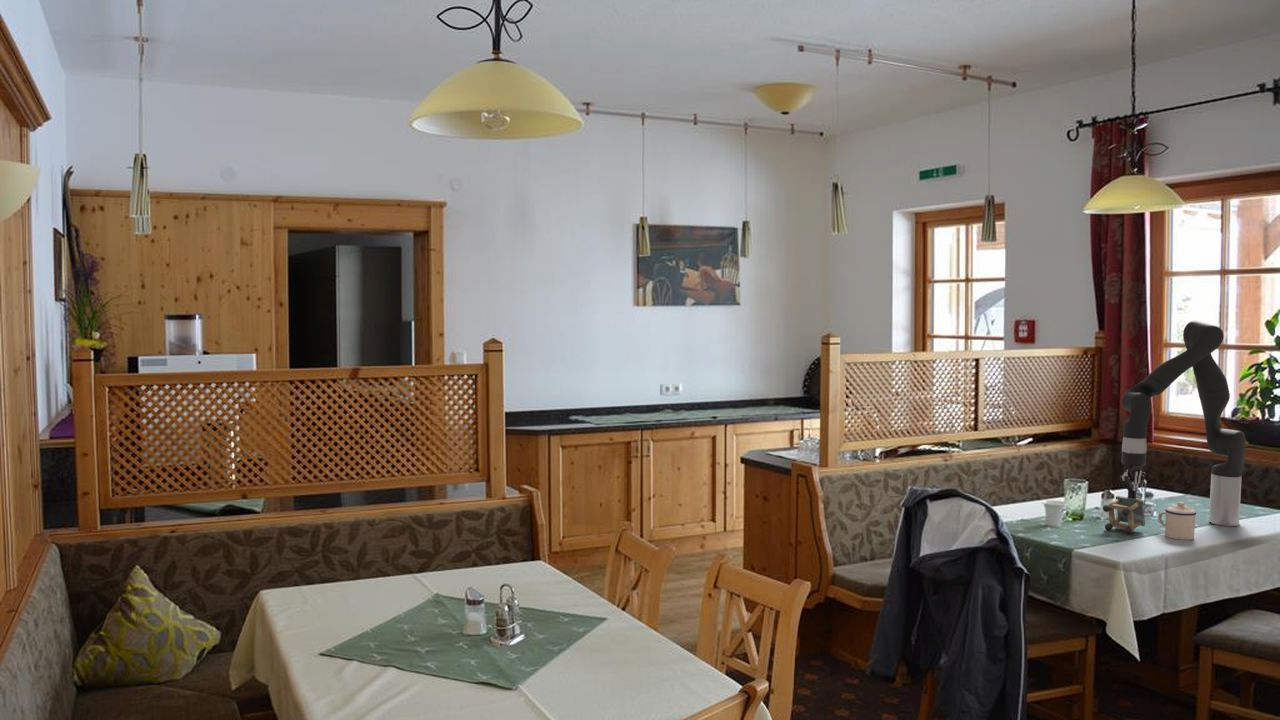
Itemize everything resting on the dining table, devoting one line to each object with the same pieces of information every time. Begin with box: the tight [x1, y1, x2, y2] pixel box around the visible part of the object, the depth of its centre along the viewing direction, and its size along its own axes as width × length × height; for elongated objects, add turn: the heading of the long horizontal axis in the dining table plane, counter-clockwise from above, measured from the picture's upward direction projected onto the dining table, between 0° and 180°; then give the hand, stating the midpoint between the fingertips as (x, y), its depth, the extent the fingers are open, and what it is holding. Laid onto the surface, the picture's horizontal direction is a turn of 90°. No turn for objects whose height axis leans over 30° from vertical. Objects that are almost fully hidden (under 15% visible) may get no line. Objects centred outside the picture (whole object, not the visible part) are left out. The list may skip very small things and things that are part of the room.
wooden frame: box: [1102, 495, 1146, 536], centre depth 346 cm, size 9×9×9 cm
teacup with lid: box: [1157, 501, 1197, 541], centre depth 340 cm, size 12×9×12 cm
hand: (1131, 501), depth 349 cm, fingers closed
